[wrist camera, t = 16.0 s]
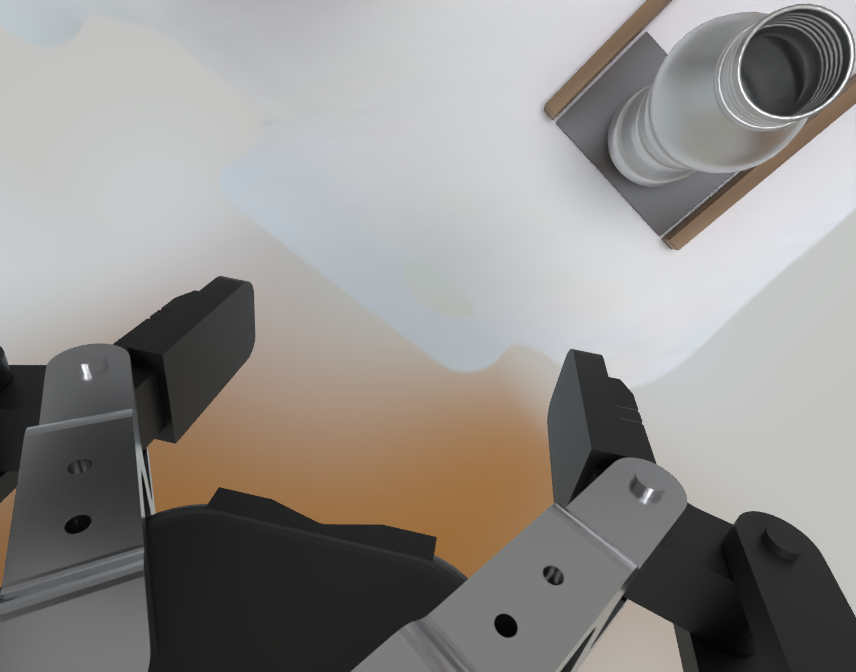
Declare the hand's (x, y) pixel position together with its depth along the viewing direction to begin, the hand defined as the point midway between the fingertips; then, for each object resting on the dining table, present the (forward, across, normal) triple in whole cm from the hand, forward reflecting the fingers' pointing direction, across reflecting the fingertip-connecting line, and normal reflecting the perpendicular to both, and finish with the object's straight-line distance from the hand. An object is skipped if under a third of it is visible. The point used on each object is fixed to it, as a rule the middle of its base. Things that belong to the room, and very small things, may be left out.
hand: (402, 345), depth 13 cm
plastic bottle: (+30, -12, -2) cm, 32 cm away
